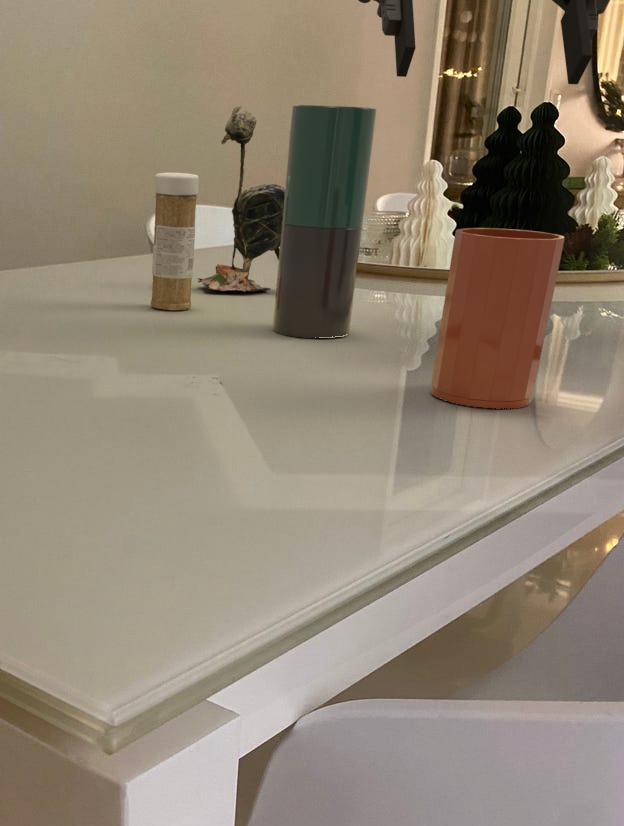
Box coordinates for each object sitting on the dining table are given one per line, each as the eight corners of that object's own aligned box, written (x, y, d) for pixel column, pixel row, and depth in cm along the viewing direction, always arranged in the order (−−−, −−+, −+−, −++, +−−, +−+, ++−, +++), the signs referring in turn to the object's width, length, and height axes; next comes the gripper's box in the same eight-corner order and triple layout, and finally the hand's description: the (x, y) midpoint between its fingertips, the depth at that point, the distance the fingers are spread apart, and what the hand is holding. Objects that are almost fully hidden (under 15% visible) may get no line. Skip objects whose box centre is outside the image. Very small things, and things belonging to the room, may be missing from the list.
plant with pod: (292, 297, 124) (310, 108, 114) (197, 293, 123) (208, 104, 114) (284, 287, 131) (301, 108, 122) (194, 283, 131) (204, 104, 122)
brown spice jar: (162, 302, 117) (168, 171, 111) (199, 307, 115) (206, 174, 109) (142, 308, 113) (147, 172, 107) (179, 313, 111) (186, 175, 105)
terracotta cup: (508, 386, 85) (539, 229, 80) (546, 410, 79) (582, 240, 73) (418, 384, 85) (442, 226, 79) (448, 408, 78) (477, 237, 73)
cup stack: (339, 325, 108) (364, 108, 99) (357, 339, 101) (386, 108, 92) (266, 323, 107) (285, 105, 98) (280, 338, 101) (301, 104, 91)
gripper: (602, -82, 91) (629, 111, 85) (318, -95, 91) (324, 97, 84) (643, -172, 84) (677, 31, 77) (335, -186, 84) (343, 16, 77)
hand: (493, 66), depth 81 cm, fingers open, 13 cm apart
